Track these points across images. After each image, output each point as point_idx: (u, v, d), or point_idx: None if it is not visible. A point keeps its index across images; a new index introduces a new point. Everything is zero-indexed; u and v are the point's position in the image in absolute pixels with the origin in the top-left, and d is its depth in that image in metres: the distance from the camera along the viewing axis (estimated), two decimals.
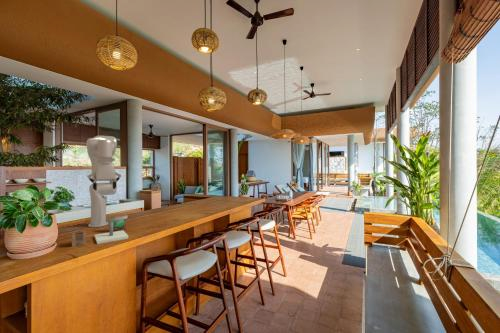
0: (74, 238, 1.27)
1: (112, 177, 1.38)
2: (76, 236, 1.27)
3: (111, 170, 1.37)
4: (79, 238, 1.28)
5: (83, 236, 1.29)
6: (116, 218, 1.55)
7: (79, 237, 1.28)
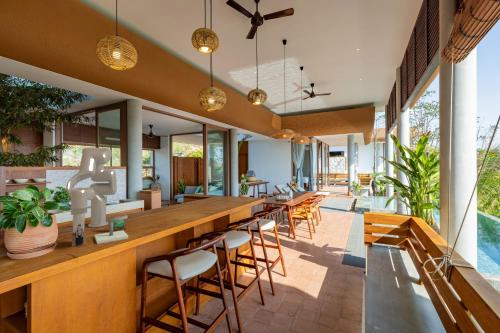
0: (74, 238, 1.27)
1: None
2: None
3: None
4: None
5: (83, 236, 1.29)
6: (116, 218, 1.55)
7: None
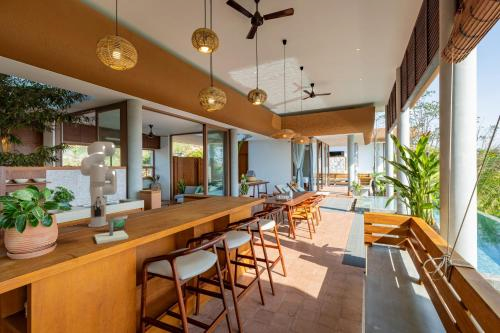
0: (93, 210, 1.33)
1: None
2: None
3: None
4: None
5: (101, 208, 1.36)
6: (116, 218, 1.55)
7: None
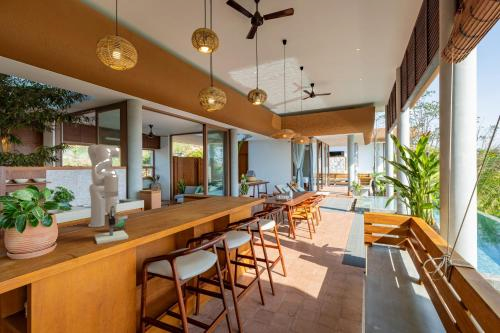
0: (107, 219, 1.38)
1: None
2: (109, 217, 1.39)
3: None
4: None
5: (115, 217, 1.41)
6: None
7: None
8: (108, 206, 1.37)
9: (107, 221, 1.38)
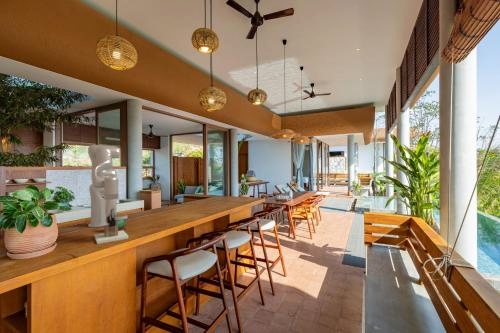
0: (107, 229, 1.38)
1: None
2: (109, 228, 1.39)
3: None
4: (112, 230, 1.40)
5: (115, 228, 1.41)
6: (116, 218, 1.55)
7: (112, 229, 1.40)
8: (108, 209, 1.37)
9: (107, 232, 1.38)
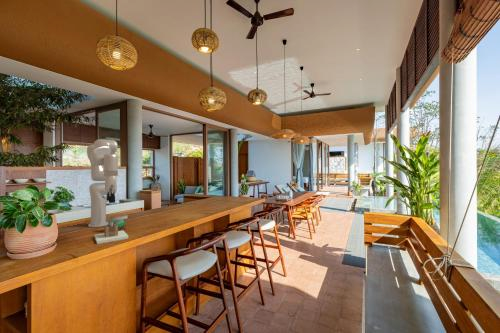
0: (107, 229, 1.38)
1: None
2: (109, 228, 1.39)
3: None
4: (112, 230, 1.40)
5: (115, 228, 1.41)
6: (116, 218, 1.55)
7: (112, 229, 1.40)
8: (108, 185, 1.37)
9: (107, 232, 1.38)
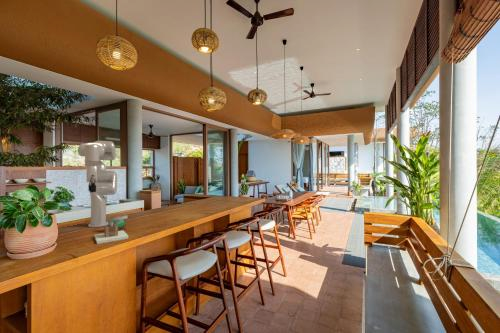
0: (107, 229, 1.38)
1: (95, 179, 1.49)
2: (109, 228, 1.39)
3: None
4: (112, 230, 1.40)
5: (115, 228, 1.41)
6: (116, 218, 1.55)
7: (112, 229, 1.40)
8: (88, 174, 1.40)
9: (107, 232, 1.38)
